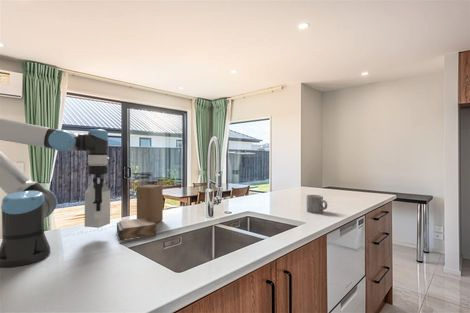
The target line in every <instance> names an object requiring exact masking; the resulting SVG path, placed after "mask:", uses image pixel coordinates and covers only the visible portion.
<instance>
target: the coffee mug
mask: <svg viewBox="0 0 470 313" xmlns="http://www.w3.org/2000/svg"><path fill="white" fill-rule="evenodd" d="M327 208H328V201H326V199H325V200H324V196H323V195H320V194H308V195H306V212H307V213H309V214H323V213H324V211H325V210H327Z"/></svg>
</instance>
